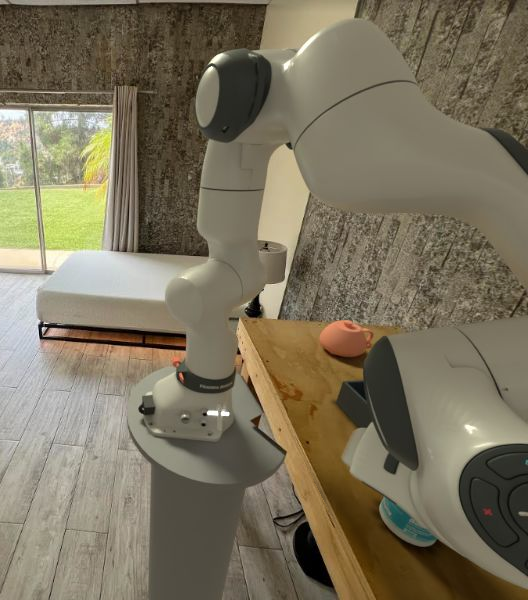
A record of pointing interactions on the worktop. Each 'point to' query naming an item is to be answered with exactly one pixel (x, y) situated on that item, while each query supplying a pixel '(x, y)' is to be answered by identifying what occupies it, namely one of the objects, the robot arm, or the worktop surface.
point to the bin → (354, 402)
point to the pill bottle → (404, 525)
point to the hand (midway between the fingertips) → (441, 499)
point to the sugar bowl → (345, 339)
